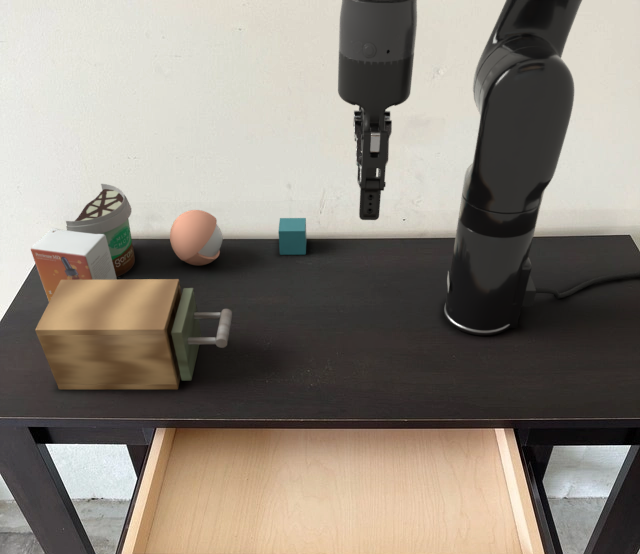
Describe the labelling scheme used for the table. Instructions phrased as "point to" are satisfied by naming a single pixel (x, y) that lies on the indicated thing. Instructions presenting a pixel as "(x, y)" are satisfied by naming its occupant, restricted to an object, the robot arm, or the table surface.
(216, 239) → the toy ball
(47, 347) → the wooden drawer cabinet
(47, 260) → the small box
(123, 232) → the food container
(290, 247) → the block
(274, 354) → the table surface
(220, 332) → the wooden drawer
